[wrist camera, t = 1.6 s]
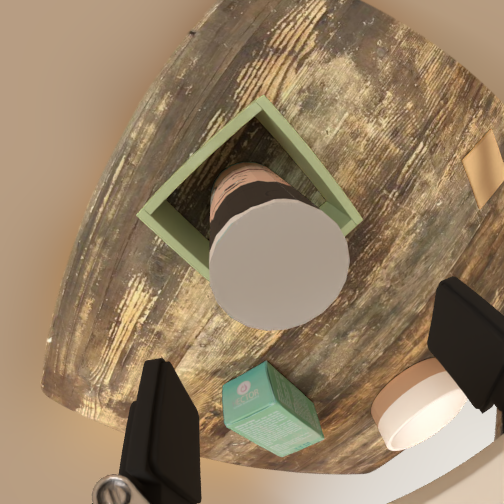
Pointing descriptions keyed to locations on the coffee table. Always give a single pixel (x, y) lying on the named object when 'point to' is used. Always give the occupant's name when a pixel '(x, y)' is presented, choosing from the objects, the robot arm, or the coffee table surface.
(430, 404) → the bowl
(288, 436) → the box
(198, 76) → the coffee table surface
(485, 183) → the coaster
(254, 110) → the crate
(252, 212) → the grey printed cylinder
